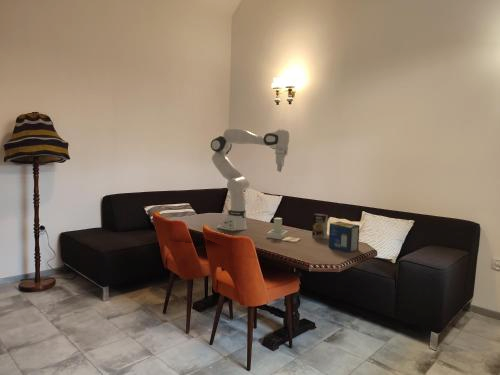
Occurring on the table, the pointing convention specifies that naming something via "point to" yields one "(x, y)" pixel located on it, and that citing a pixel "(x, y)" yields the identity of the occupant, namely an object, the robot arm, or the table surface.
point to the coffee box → (320, 226)
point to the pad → (291, 239)
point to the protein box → (344, 236)
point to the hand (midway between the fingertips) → (279, 171)
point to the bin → (276, 235)
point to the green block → (277, 225)
